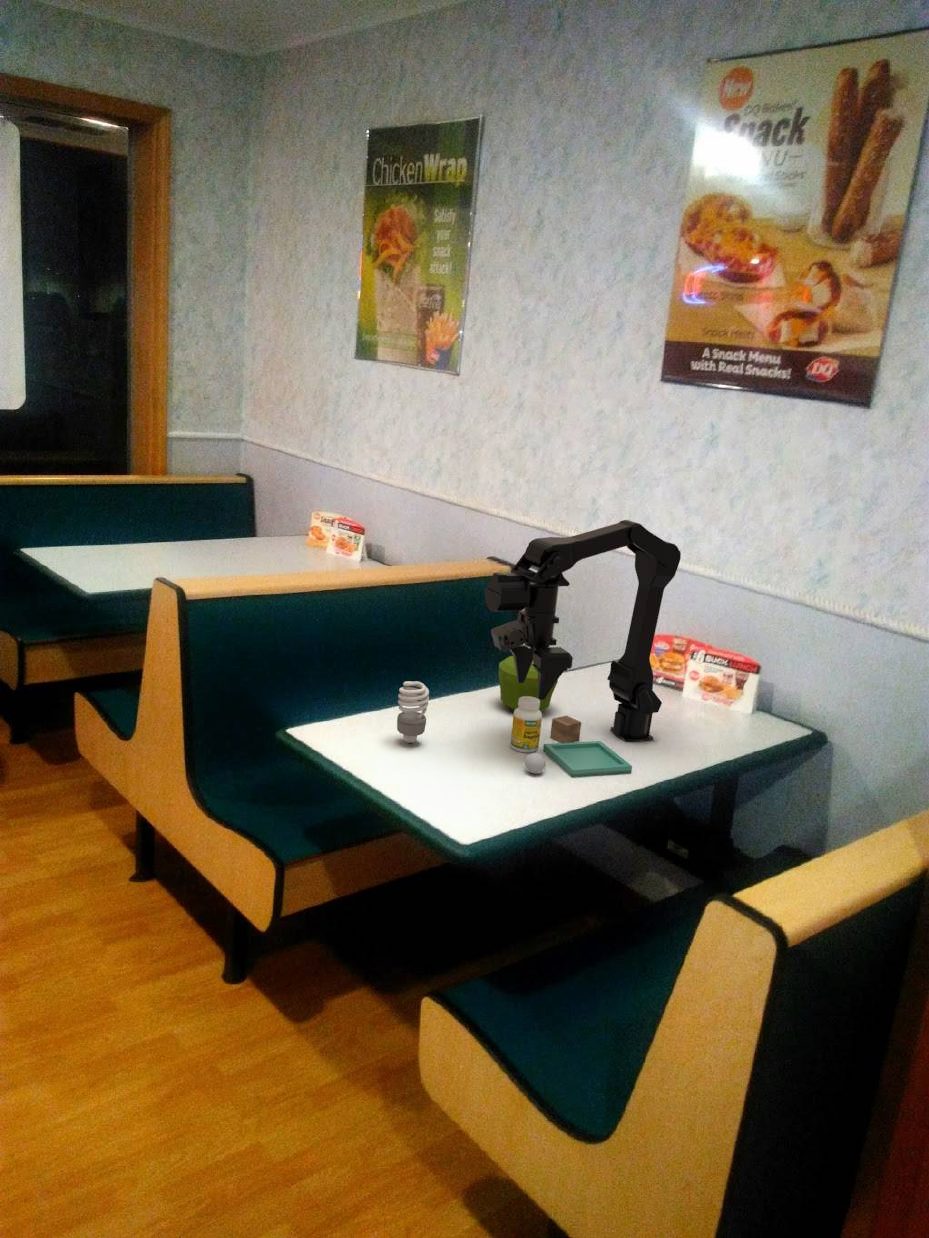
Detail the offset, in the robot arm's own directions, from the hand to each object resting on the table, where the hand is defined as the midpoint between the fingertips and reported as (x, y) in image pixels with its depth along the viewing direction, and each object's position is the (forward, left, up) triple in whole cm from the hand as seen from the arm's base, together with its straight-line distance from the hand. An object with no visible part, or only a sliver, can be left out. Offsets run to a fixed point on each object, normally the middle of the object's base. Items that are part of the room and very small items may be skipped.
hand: (530, 690), depth 180 cm
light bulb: (+21, -5, -12) cm, 24 cm away
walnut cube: (-10, -3, -11) cm, 15 cm away
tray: (-9, +8, -11) cm, 17 cm away
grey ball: (+3, +11, -11) cm, 16 cm away
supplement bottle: (0, 0, -12) cm, 12 cm away
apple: (-9, -20, -12) cm, 25 cm away
